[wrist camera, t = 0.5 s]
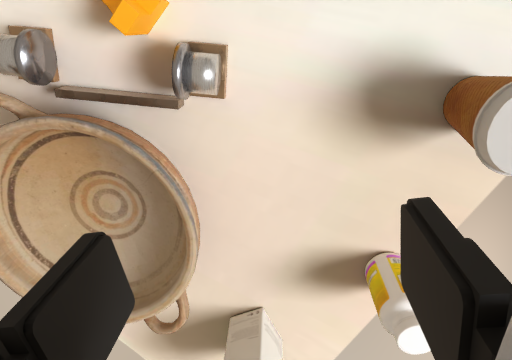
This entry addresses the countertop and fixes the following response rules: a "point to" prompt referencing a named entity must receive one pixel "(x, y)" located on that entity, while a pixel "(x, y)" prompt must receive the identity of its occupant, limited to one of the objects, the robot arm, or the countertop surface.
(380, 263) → the supplement bottle
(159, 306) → the ceramic bowl
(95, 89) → the pipe run
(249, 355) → the skincare box
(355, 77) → the countertop surface
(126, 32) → the pipe clamp
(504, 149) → the disposable coffee cup
